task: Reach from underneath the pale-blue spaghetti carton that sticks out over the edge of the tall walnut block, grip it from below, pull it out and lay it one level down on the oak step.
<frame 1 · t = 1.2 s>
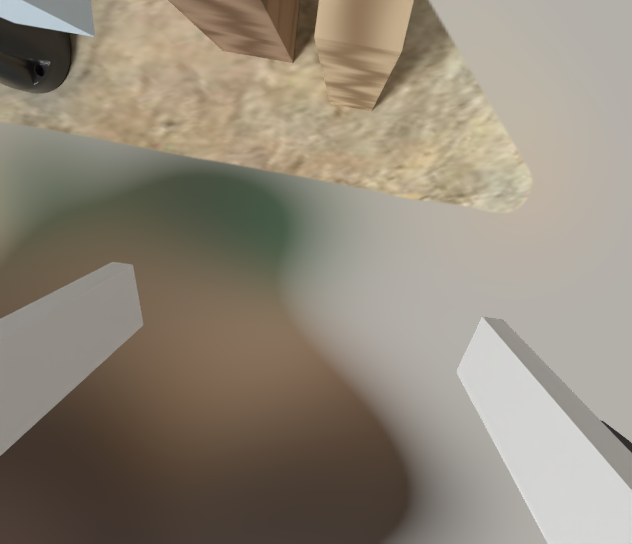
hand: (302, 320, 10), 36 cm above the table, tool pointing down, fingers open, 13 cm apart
oak step: (358, 65, 37), on the table
walnut block: (260, 10, 35), on the table
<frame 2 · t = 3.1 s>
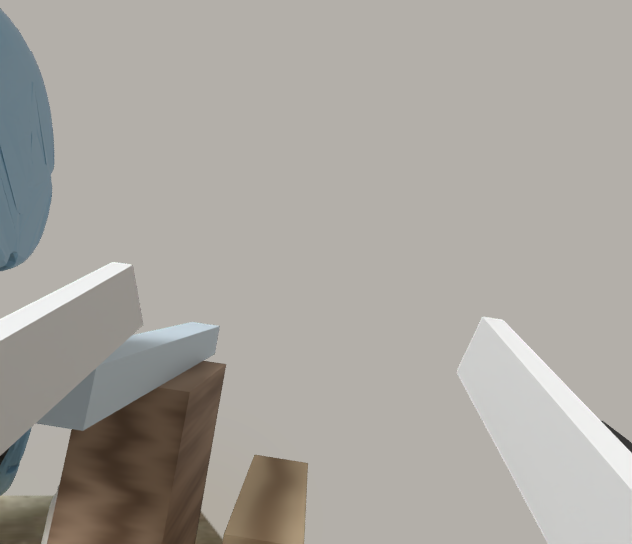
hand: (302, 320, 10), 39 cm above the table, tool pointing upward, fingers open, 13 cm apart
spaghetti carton: (155, 374, 28), point 30 cm above the table, touching walnut block
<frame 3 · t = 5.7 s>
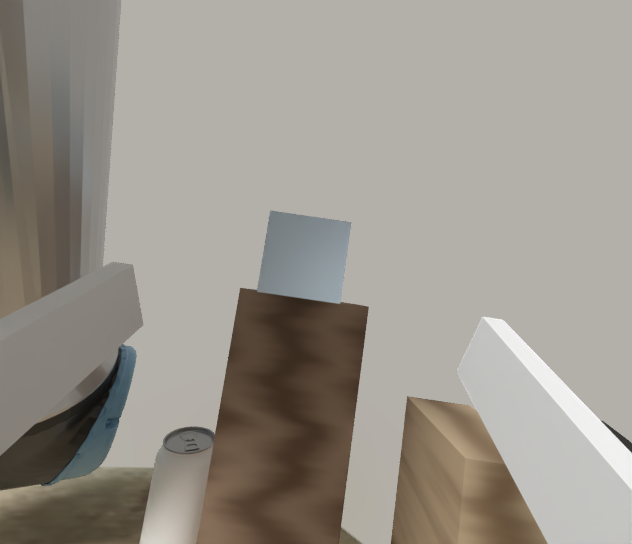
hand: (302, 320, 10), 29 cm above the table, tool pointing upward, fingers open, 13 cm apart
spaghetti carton: (305, 297, 24), point 30 cm above the table, touching walnut block
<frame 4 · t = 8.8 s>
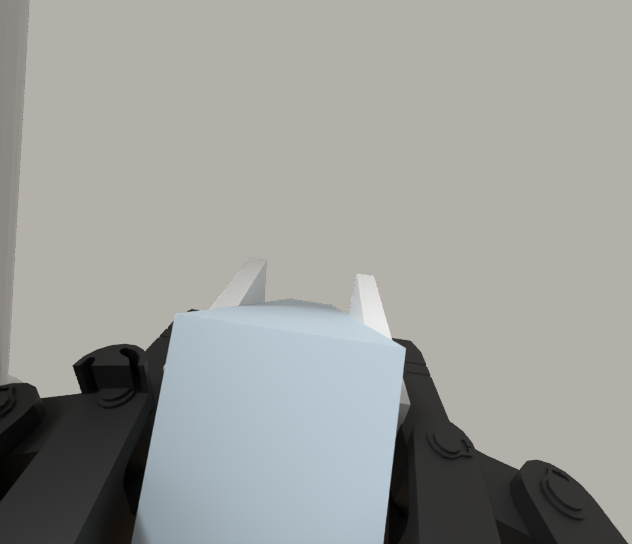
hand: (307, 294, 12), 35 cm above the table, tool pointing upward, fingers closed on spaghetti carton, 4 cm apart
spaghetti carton: (297, 376, 15), point 30 cm above the table, touching gripper
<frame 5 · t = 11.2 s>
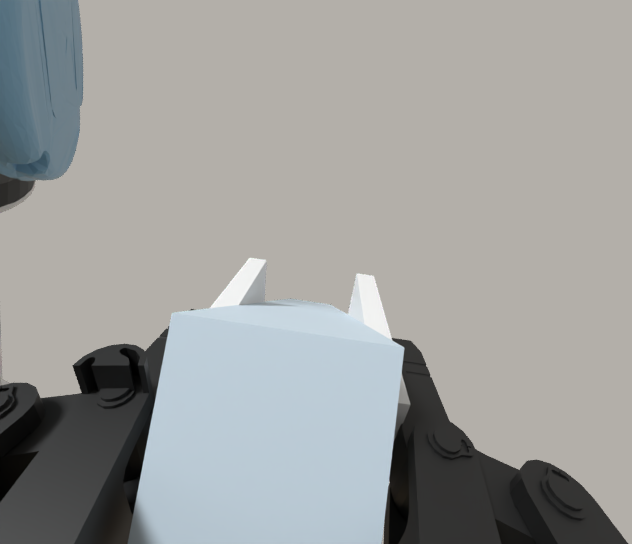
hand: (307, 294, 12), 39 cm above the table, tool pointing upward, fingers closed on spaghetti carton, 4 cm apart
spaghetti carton: (296, 376, 15), point 35 cm above the table, touching gripper
when the fingers open (28 cm above the table, at t = 13.7 s): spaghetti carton stays where it is, resting on oak step.
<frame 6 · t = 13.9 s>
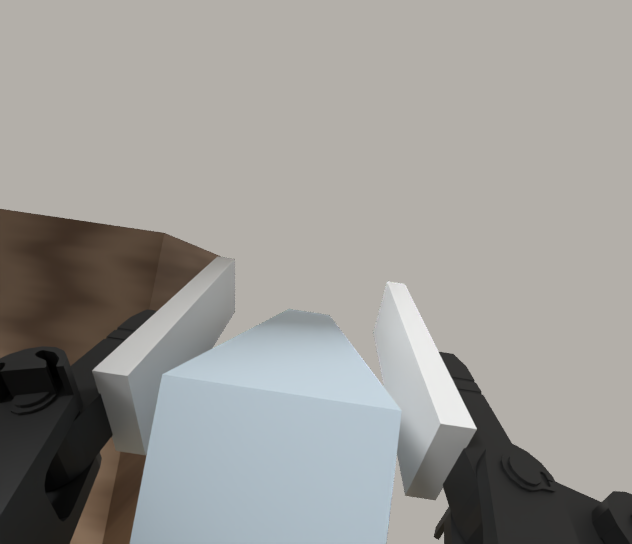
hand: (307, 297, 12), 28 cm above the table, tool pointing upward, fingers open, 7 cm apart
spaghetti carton: (294, 395, 15), point 22 cm above the table, touching oak step
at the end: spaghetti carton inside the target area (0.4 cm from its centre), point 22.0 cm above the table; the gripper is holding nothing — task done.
